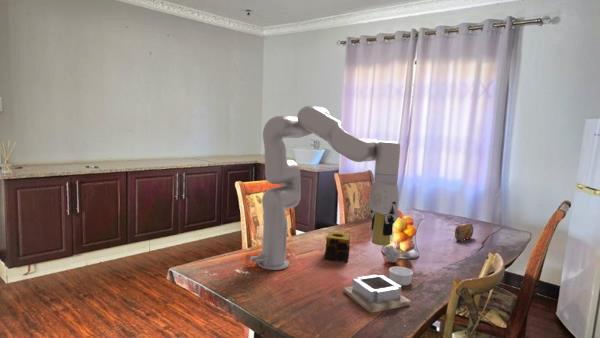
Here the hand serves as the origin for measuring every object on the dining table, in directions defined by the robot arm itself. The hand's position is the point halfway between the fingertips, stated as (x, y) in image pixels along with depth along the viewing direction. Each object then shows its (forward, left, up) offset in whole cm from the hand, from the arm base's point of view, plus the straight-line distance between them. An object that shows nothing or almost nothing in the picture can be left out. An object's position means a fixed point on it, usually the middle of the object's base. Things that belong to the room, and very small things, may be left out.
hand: (381, 231), depth 131 cm
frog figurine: (+28, +27, -24) cm, 46 cm away
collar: (0, 0, -22) cm, 22 cm away
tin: (+89, +43, -24) cm, 102 cm away
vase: (0, 0, -4) cm, 4 cm away
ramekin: (+18, +9, -24) cm, 31 cm away
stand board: (0, 0, -23) cm, 23 cm away
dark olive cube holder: (+8, +39, -24) cm, 46 cm away
